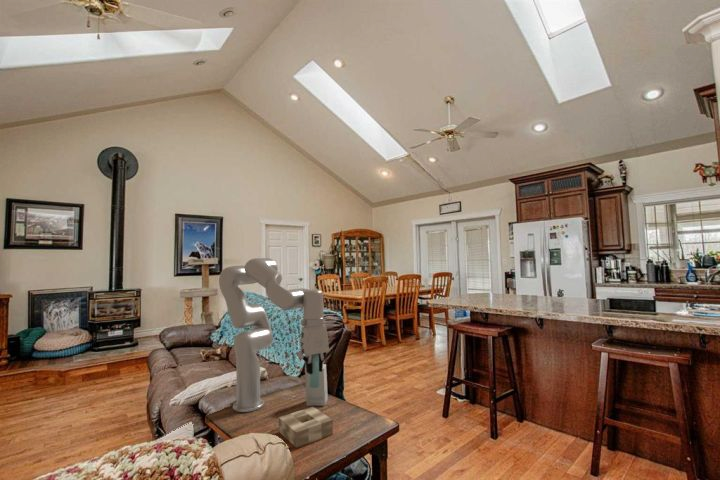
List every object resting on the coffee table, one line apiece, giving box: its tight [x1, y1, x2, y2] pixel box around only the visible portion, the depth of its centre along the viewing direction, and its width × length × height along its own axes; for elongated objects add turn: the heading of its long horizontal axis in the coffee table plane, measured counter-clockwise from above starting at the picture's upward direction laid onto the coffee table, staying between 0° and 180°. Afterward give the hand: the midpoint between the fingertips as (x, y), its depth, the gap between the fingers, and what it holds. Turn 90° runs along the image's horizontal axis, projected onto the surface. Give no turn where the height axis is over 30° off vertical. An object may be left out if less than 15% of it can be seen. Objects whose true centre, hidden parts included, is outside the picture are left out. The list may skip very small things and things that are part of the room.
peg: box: [310, 354, 319, 388], centre depth 130 cm, size 4×4×12 cm
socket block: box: [278, 406, 334, 449], centre depth 123 cm, size 14×14×5 cm
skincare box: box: [304, 363, 329, 407], centre depth 149 cm, size 8×7×16 cm
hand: (314, 371), depth 130 cm, fingers closed on peg, 3 cm apart
